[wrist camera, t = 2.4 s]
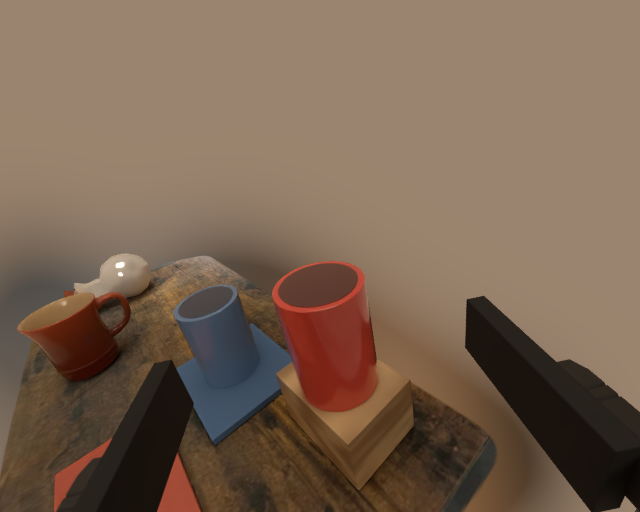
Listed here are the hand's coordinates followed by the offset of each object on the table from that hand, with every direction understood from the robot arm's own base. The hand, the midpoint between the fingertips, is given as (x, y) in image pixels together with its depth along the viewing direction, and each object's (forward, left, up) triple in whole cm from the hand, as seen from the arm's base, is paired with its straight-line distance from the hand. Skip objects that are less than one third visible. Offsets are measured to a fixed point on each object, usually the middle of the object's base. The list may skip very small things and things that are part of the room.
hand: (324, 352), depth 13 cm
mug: (+43, +12, -18) cm, 48 cm away
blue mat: (+23, -1, -18) cm, 29 cm away
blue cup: (+24, -1, -17) cm, 29 cm away
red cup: (+8, -6, -12) cm, 15 cm away
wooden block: (+8, -6, -18) cm, 20 cm away
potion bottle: (+63, +8, -18) cm, 66 cm away
